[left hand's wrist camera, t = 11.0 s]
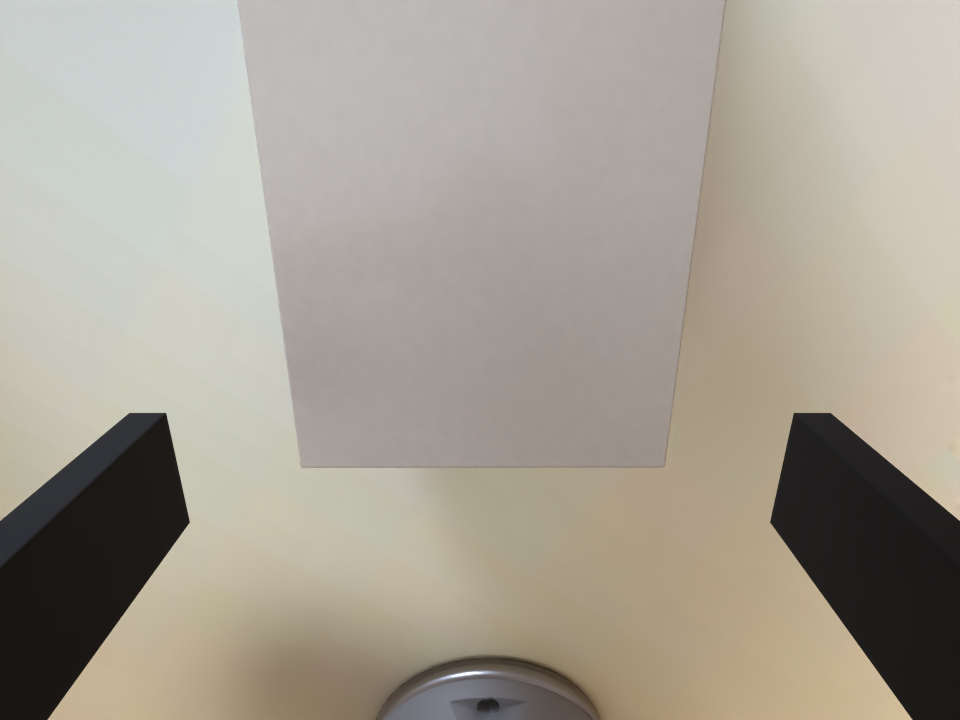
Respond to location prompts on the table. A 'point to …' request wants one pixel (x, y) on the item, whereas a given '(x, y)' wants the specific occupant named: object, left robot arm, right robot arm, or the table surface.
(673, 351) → the cabinet
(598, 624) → the table surface
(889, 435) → the table surface
